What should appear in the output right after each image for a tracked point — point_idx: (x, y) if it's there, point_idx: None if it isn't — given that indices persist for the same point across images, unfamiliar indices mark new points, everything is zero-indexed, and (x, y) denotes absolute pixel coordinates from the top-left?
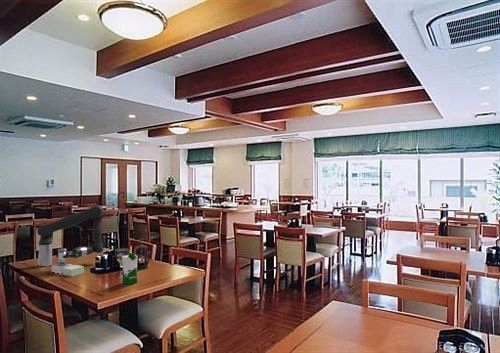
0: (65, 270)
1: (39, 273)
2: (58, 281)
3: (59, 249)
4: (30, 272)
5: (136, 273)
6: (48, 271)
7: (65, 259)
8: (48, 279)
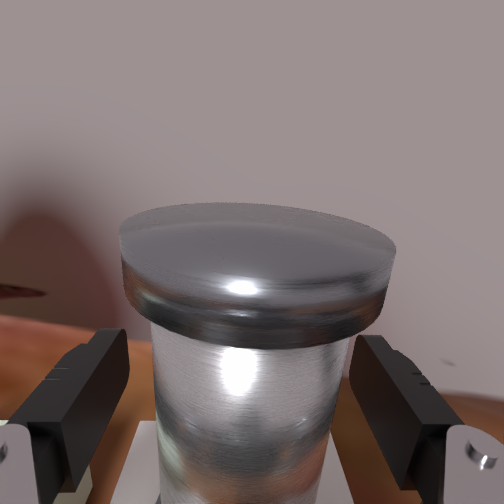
0: None
1: None
2: (12, 347)
3: (290, 215)
4: (462, 394)
5: None
6: (408, 500)
7: (161, 497)
8: (129, 349)
